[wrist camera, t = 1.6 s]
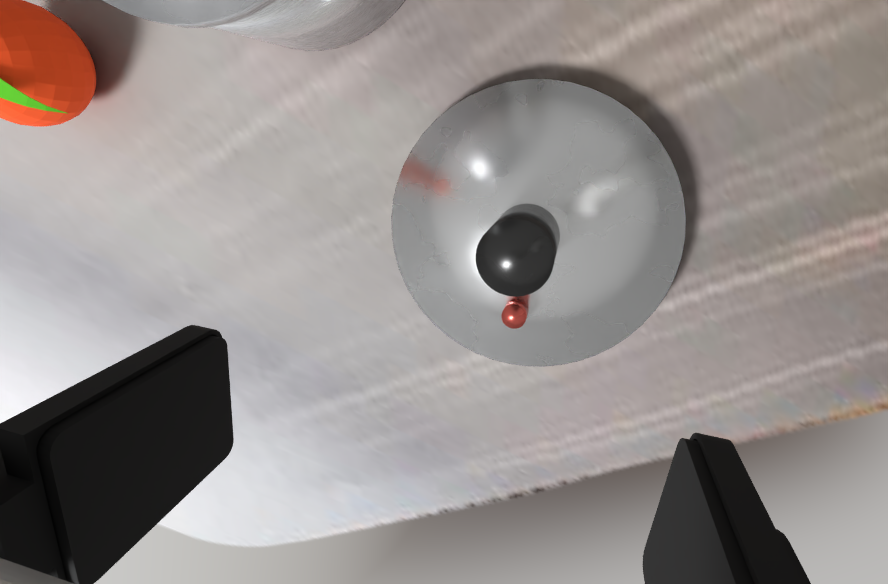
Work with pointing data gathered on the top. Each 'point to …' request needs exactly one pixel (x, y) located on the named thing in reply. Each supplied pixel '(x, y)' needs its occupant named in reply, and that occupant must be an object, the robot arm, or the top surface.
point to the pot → (272, 18)
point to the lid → (538, 222)
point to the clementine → (41, 67)
